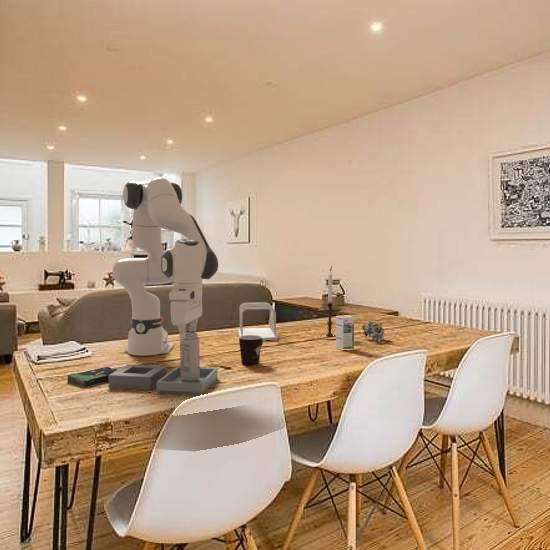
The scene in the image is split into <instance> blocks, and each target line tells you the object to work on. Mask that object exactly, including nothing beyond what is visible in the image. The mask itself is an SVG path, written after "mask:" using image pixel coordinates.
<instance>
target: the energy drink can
mask: <svg viewBox="0 0 550 550" xmlns="http://www.w3.org/2000/svg"><path fill="white" fill-rule="evenodd" d="M179 347H180V348H179V349H180V350H179V354H180V355H179V358H180V359H179V360H180V365H179V367H181V379H182V381H183V382H186V383H192V382H196V381H198V379H199V378H200V368H201V366H200V365H201V364H200V363H201V362H200V357H201V356H200V338H199V336H198V333H196V332H194V333H190V332H187V337H186V338H185V339H180V338H179Z"/></svg>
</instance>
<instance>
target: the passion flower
mask: <svg viewBox="0 0 550 550" xmlns="http://www.w3.org/2000/svg"><path fill="white" fill-rule="evenodd" d="M361 328H362V330H363V334H362V336H364V339H366V340H367V337H368V338H372V341H373V342H377V343H380V342H381V339H382V340H385V336H384V335H385V332H386V330H385V329H384V328H383V326H382V323H379V322H378V323H377V322H376V321H372V320H371V319H368V324H367V325H366V324H363V325H362V326H361Z"/></svg>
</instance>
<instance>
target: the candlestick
mask: <svg viewBox="0 0 550 550" xmlns="http://www.w3.org/2000/svg"><path fill="white" fill-rule="evenodd" d="M332 269H333V265H331V267H330V269H329V274H328V275H327V276H328V279H327V280H328V282H327V283H328V284H327V285H328V286H327V288H328V289H327V306H320V307H318V311H319V312H323V313H326V314H328V321H326V324H327V327H326V328H327V333H326V334H325V335H326V337H334V336H336V334H333V333H332V329H333V327H332V325H333V321H332V314H334V313H339V312H342V307H339V306H333V274H332ZM322 335H323V334H321V335H320V336H319V338H320V337H321V336H322ZM333 335H334V336H333Z"/></svg>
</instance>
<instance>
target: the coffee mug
mask: <svg viewBox="0 0 550 550" xmlns="http://www.w3.org/2000/svg"><path fill="white" fill-rule="evenodd" d="M238 340H239V351H240V360H241V365H242V364H243V366H247V367H253V365H255V366H257V365H259V364H260V358H261V349H262V346H263V344H264V341H263V340H262V337H261V336H257V335H245V336H240V337H239V336H238Z"/></svg>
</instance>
